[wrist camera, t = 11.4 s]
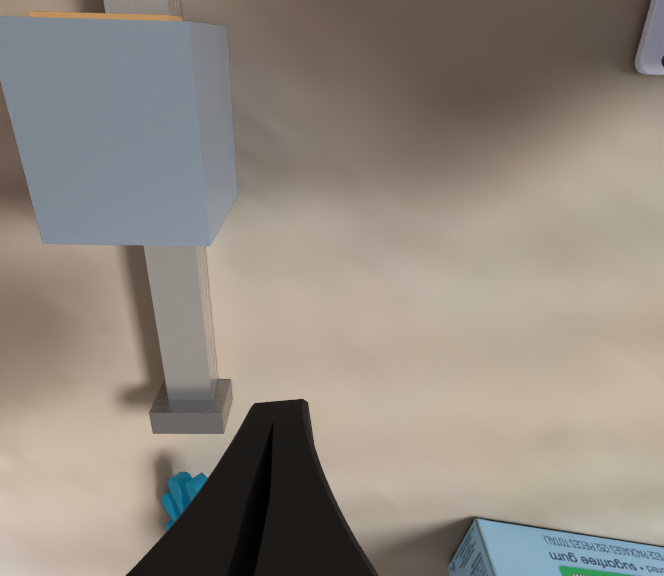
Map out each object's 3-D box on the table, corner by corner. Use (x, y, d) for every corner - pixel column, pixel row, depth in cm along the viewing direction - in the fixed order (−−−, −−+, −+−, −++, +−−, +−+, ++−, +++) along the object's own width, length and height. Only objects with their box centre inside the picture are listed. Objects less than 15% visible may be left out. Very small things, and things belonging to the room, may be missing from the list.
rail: (179, -209, 14) (154, -253, 12) (232, 399, 24) (223, 433, 22) (67, -214, 14) (22, -258, 12) (167, 398, 24) (152, 433, 22)
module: (226, 21, 17) (188, 14, 12) (237, 194, 20) (210, 246, 15) (80, 17, 17) (-19, 8, 12) (112, 192, 20) (42, 244, 15)
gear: (152, 444, 24) (285, 629, 19) (252, 393, 27) (383, 534, 22) (148, 558, 30) (247, 719, 25) (230, 503, 34) (329, 632, 29)
